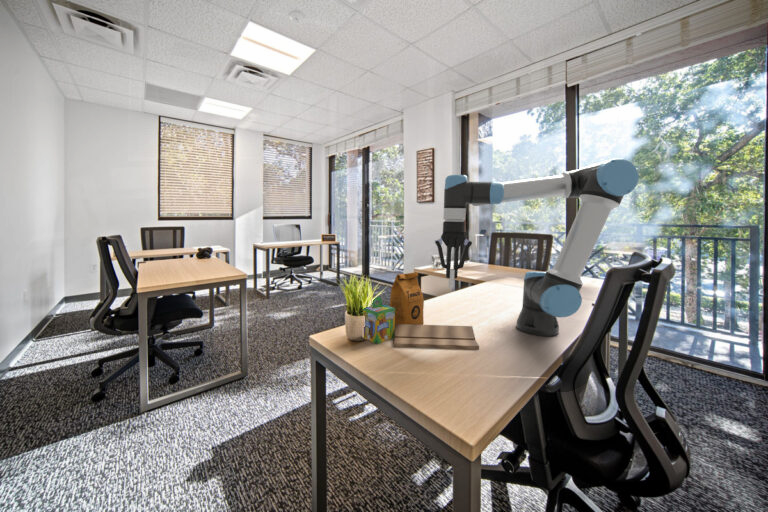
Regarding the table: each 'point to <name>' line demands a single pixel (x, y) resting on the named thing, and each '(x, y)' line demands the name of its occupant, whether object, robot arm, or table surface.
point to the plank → (434, 332)
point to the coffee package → (407, 299)
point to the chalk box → (379, 322)
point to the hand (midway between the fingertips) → (451, 287)
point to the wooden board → (436, 343)
